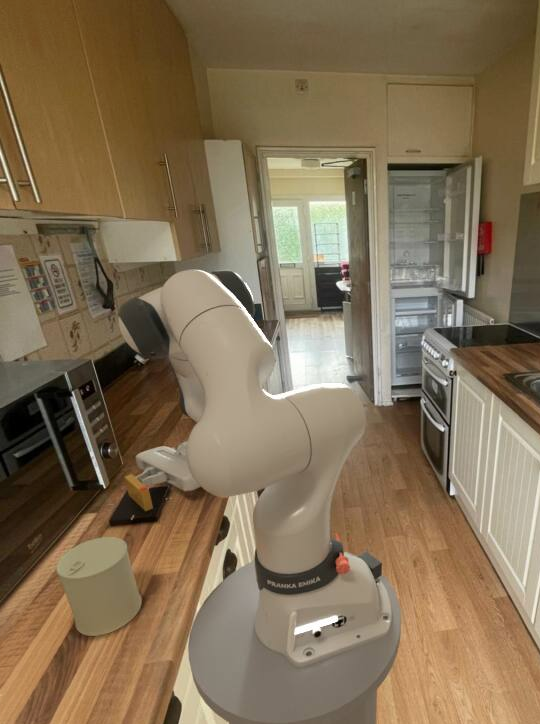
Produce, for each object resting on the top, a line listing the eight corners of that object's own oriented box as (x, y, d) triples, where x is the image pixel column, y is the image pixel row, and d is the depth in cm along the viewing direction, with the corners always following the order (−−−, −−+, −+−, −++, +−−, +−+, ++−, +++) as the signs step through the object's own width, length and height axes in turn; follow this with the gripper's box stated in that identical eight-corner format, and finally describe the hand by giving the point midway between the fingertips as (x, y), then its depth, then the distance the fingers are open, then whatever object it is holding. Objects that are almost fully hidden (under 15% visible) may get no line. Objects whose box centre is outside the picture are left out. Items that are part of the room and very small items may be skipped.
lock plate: (119, 494, 100) (117, 488, 99) (179, 488, 103) (178, 482, 102) (98, 529, 88) (96, 523, 88) (167, 522, 91) (165, 515, 90)
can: (61, 628, 66) (38, 568, 62) (110, 585, 75) (94, 529, 70) (108, 643, 64) (89, 581, 60) (154, 597, 72) (140, 540, 68)
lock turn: (128, 495, 97) (123, 475, 95) (136, 492, 98) (131, 473, 96) (145, 511, 92) (140, 490, 90) (153, 508, 93) (148, 487, 91)
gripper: (166, 435, 110) (111, 457, 99) (218, 457, 100) (163, 483, 89) (171, 457, 112) (117, 480, 102) (222, 480, 102) (168, 508, 92)
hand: (139, 482), depth 95 cm, fingers closed
